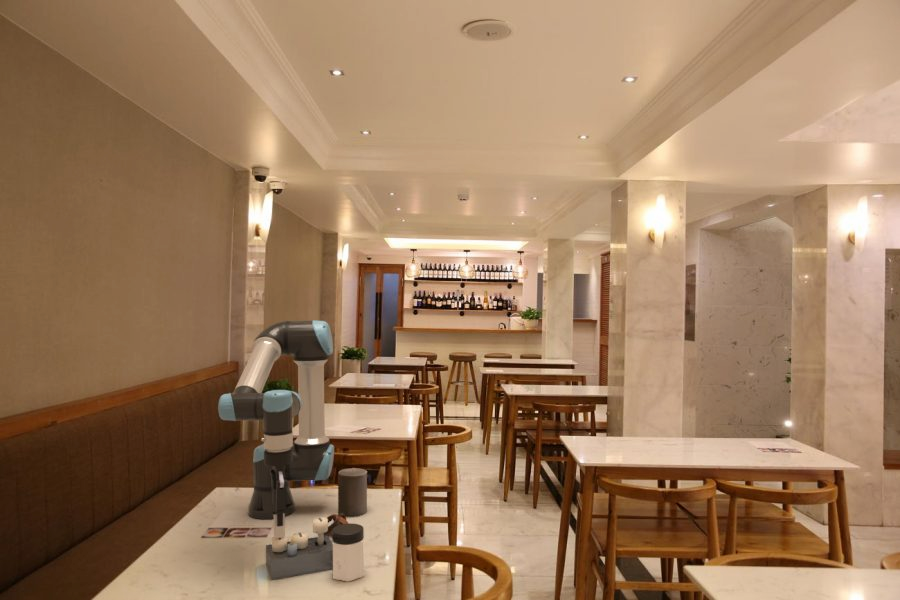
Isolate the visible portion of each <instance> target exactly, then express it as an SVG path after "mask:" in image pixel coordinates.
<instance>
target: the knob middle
mask: <svg viewBox="0 0 900 600" xmlns="http://www.w3.org/2000/svg"><path fill="white" fill-rule="evenodd" d="M308 535H309V533H307V532H305V531H303V532H302V531H300V532H296V533H294V534H292V537H294V543H297V549H303V548H306V547H307V546H308V538H309V536H308Z"/></svg>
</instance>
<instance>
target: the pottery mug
mask: <svg viewBox="0 0 900 600" xmlns="http://www.w3.org/2000/svg"><path fill="white" fill-rule="evenodd" d="M326 518H327V519H328V524H329V523H330V522H332V521H333V522H332V523H331V524H330V525H328V531H327V532H325V533H324V536H327V535H328V537H329V538H330V537H331V538H332V530H333V528H334V527H336V526H338V525H342V524H349V522H348V521H347V517H346V516H345V515H344V514H343V513H339V514H337V513H333V514H330V515H329V516H327V517H326Z"/></svg>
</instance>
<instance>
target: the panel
mask: <svg viewBox="0 0 900 600" xmlns="http://www.w3.org/2000/svg"><path fill="white" fill-rule="evenodd" d="M290 543H291V540H290V541H287V550H285V551H283V552H279V553H277V552H273V551H272V543H271V544H266V545H265V565H266V568H267V571H268V574H269V577H270V580H271V581H274V579H275V580H280V579H285V577H286V578H290V577H296V576H302V575H307V574H312V573H317V572H318V571H319V572H323V571H322V570H324V571H329V570H333V541H332V540H331V539H330V536H328V535H327V536H324V545H321V546H318V536H315V537H308V546H307V547H306V548H303V549H297V555H294V556H289V555H288V544H290Z"/></svg>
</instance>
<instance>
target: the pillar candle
mask: <svg viewBox="0 0 900 600" xmlns="http://www.w3.org/2000/svg"><path fill="white" fill-rule="evenodd" d="M337 475H338V477H337V501H338V502H337V507H338V508H337V509H338V510H337V513H338V514H339V513H343V514H344V515H345V516H346V518H354V517H355V516H356V517H360V515H361V516H363V514H364V515H365V514H366V513H367V512H368V509H367V508H368V480H367V479H368V471H367V470H366V469H364V468H359V467H358V468H356V467H352V468H343V469H341V470H339V471H338V474H337ZM338 514H337V515H338Z"/></svg>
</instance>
